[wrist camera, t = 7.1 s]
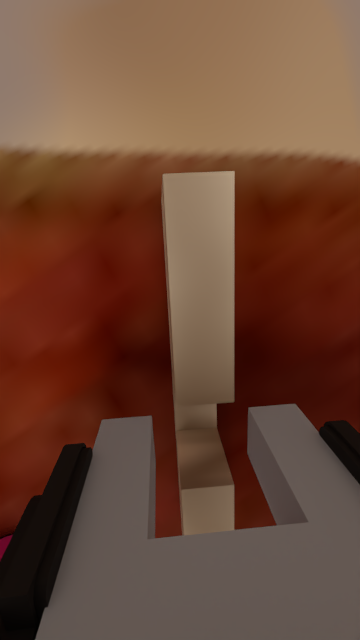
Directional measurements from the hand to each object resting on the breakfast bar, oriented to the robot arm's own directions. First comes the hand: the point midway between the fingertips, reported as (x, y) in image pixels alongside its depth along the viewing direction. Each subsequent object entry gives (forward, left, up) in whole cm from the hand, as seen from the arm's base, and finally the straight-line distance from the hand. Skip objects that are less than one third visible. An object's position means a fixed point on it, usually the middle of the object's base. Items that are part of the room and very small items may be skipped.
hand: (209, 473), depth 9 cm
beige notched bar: (0, 0, -7) cm, 7 cm away
